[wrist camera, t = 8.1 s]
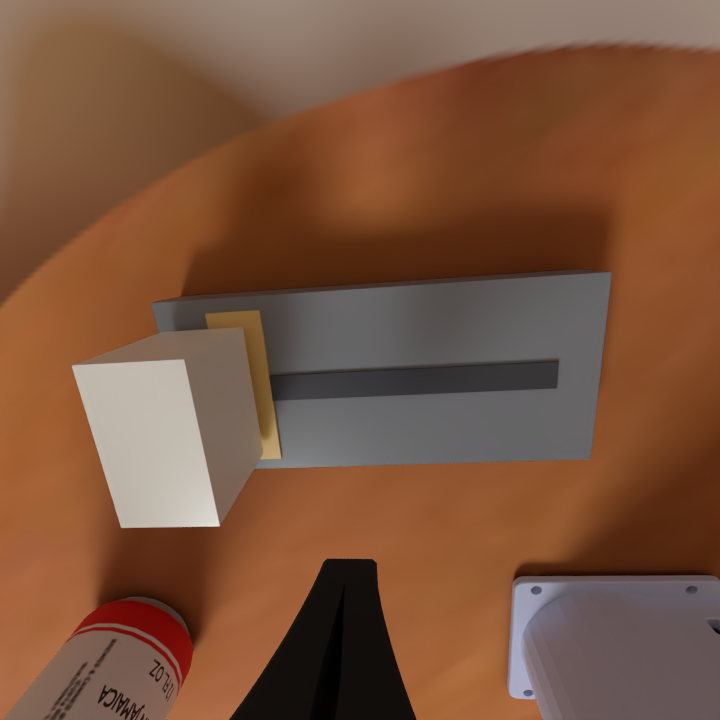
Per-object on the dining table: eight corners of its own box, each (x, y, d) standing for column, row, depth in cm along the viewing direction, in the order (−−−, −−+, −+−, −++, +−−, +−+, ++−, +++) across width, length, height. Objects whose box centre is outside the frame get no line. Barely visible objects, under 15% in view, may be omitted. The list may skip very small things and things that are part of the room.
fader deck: (580, 268, 14) (614, 271, 12) (566, 434, 16) (592, 460, 14) (179, 296, 15) (149, 303, 13) (211, 446, 17) (188, 472, 15)
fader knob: (242, 327, 13) (183, 359, 9) (263, 453, 14) (219, 526, 11) (161, 332, 13) (71, 365, 9) (189, 455, 15) (120, 528, 11)
